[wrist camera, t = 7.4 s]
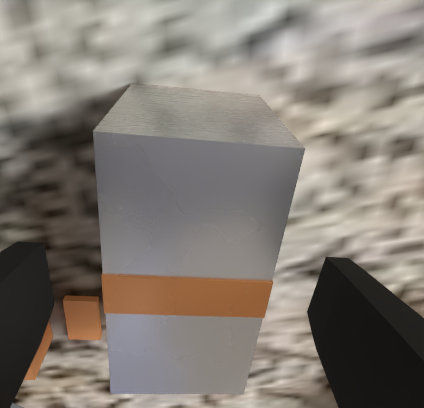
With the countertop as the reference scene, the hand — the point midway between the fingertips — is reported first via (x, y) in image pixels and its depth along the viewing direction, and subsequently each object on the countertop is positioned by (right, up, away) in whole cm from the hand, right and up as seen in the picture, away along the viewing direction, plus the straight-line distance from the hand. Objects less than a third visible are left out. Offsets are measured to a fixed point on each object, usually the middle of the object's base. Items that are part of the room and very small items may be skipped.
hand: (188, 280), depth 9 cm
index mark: (-5, -3, +6) cm, 8 cm away
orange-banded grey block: (0, +2, +4) cm, 4 cm away
